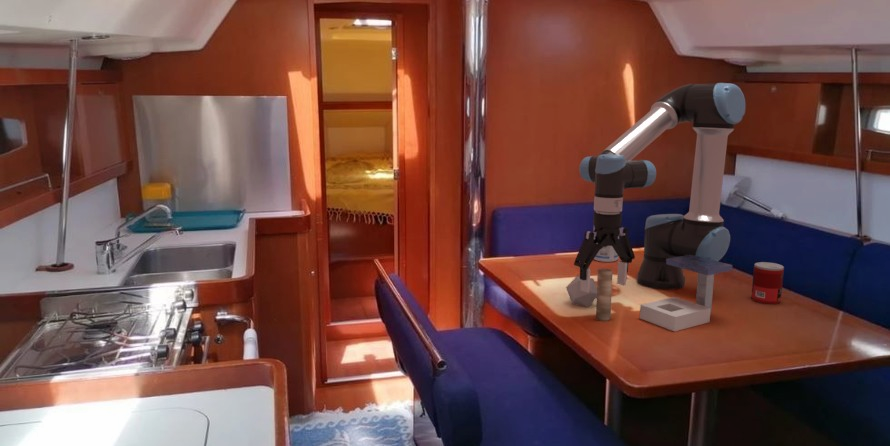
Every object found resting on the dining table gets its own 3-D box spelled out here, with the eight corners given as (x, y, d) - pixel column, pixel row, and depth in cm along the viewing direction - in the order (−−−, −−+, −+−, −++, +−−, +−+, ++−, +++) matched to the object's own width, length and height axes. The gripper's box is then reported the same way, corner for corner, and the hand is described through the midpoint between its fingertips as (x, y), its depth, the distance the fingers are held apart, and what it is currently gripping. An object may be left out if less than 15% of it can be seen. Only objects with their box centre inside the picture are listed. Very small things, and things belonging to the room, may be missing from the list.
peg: (592, 317, 178) (594, 269, 175) (603, 315, 180) (605, 267, 177) (602, 322, 175) (605, 273, 172) (613, 319, 177) (615, 270, 174)
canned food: (783, 305, 188) (787, 269, 186) (754, 303, 190) (758, 267, 188) (776, 297, 196) (779, 262, 194) (748, 295, 197) (751, 261, 195)
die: (603, 305, 191) (591, 274, 195) (601, 299, 183) (589, 267, 187) (575, 314, 193) (565, 283, 196) (572, 308, 184) (561, 276, 188)
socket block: (639, 318, 178) (640, 304, 177) (674, 309, 184) (675, 296, 184) (674, 331, 167) (675, 317, 167) (709, 322, 174) (710, 308, 174)
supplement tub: (608, 255, 249) (610, 218, 246) (623, 261, 240) (625, 223, 237) (587, 257, 245) (588, 220, 242) (601, 263, 237) (603, 224, 234)
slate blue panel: (663, 310, 184) (666, 258, 181) (686, 305, 188) (690, 254, 186) (704, 325, 172) (708, 270, 169) (728, 319, 177) (732, 265, 174)
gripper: (582, 217, 162) (578, 297, 166) (651, 210, 175) (645, 285, 178) (562, 213, 169) (559, 290, 173) (630, 206, 181) (626, 278, 185)
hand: (603, 287), depth 176 cm, fingers open, 13 cm apart
